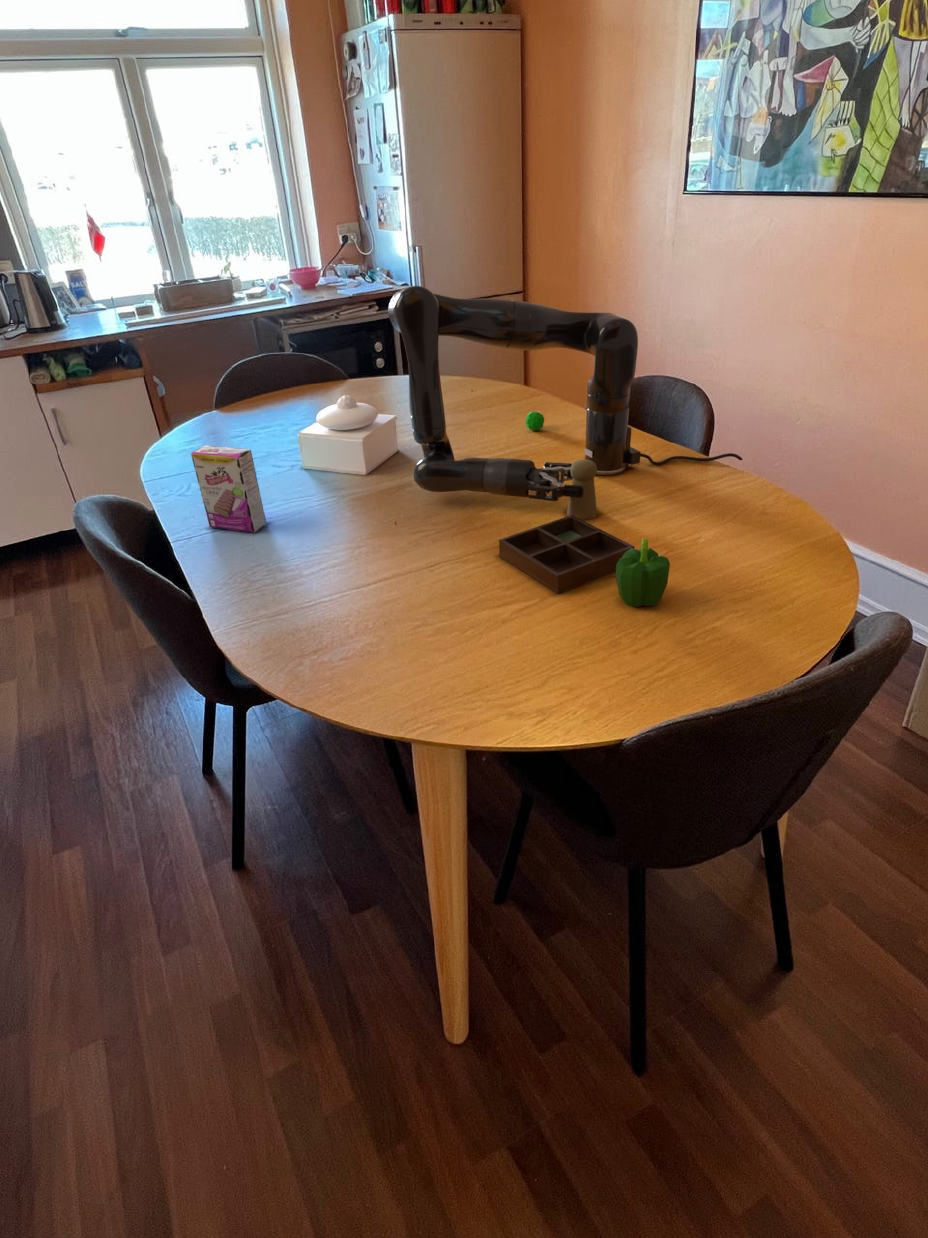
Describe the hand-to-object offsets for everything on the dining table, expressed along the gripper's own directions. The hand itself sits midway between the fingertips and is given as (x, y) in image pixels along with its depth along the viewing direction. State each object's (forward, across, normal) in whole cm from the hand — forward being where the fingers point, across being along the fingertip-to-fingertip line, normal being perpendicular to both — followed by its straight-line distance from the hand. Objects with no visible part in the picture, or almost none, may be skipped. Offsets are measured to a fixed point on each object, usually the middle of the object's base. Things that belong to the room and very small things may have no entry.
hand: (587, 483), depth 147 cm
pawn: (-1, 0, +7) cm, 7 cm away
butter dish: (-63, +19, +7) cm, 66 cm away
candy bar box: (-68, -22, +7) cm, 72 cm away
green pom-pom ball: (-24, +49, +7) cm, 55 cm away
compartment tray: (0, -21, +6) cm, 22 cm away
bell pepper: (+15, -31, +7) cm, 35 cm away
